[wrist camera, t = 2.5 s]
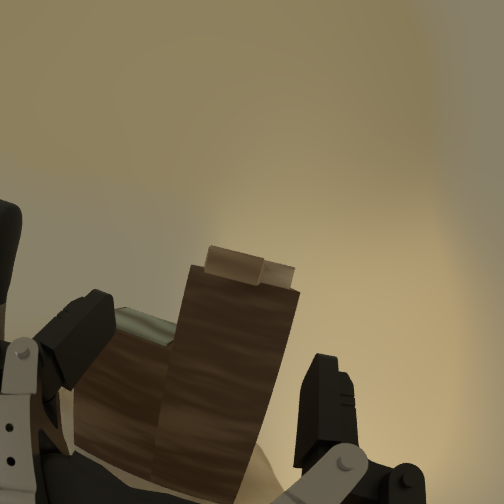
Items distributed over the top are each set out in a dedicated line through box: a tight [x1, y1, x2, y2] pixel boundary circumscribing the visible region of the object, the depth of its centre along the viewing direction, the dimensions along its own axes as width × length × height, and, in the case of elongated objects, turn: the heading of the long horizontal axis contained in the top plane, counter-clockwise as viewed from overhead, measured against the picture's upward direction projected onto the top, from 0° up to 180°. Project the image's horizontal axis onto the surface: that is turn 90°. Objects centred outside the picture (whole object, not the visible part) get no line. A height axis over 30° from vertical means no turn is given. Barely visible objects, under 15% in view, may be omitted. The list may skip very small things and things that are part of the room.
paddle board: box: [204, 245, 295, 289], centre depth 30 cm, size 24×10×2 cm, turn 177°
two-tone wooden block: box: [74, 265, 300, 504], centre depth 36 cm, size 14×25×32 cm, turn 87°
